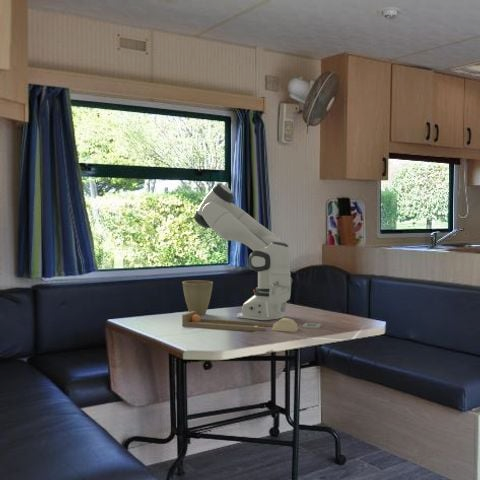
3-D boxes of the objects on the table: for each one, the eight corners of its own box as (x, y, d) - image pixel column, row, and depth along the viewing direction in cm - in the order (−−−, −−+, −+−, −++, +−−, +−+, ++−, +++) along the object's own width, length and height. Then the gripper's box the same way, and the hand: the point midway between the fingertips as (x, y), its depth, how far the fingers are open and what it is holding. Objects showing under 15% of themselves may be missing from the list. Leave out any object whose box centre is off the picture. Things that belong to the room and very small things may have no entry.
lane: (182, 337, 258) (182, 314, 258) (193, 332, 269) (192, 310, 268) (293, 346, 241) (293, 322, 241) (299, 341, 251) (300, 317, 251)
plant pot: (178, 316, 282) (178, 283, 282) (187, 311, 297) (187, 279, 296) (208, 317, 279) (208, 284, 278) (216, 312, 294) (216, 280, 293)
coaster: (301, 329, 252) (301, 325, 252) (305, 326, 258) (305, 322, 258) (317, 330, 249) (317, 326, 249) (321, 327, 256) (321, 323, 256)
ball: (199, 317, 259) (191, 313, 261) (196, 325, 260) (188, 322, 261) (203, 315, 263) (195, 312, 265) (200, 324, 264) (192, 320, 265)
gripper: (280, 283, 237) (280, 318, 237) (293, 278, 256) (293, 310, 257) (265, 283, 239) (265, 317, 240) (279, 278, 258) (279, 309, 259)
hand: (279, 313), depth 248 cm, fingers open, 8 cm apart
